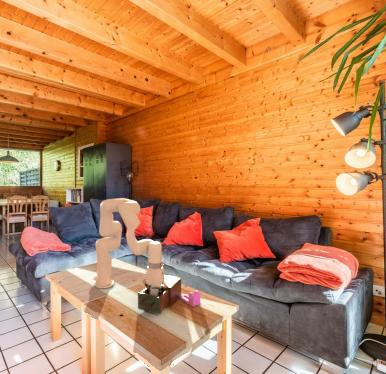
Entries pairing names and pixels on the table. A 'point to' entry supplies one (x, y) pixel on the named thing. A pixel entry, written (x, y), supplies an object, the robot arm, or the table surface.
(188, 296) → the bracket
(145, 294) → the drawer
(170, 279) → the cabinet
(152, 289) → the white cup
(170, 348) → the table surface
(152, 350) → the table surface
